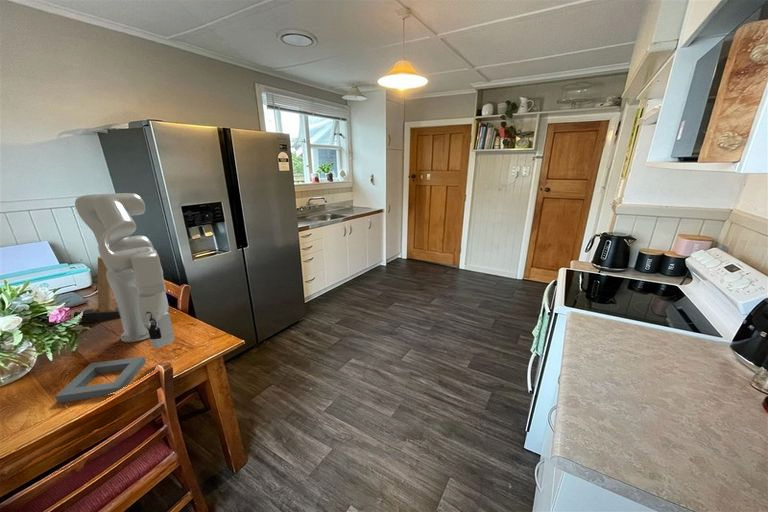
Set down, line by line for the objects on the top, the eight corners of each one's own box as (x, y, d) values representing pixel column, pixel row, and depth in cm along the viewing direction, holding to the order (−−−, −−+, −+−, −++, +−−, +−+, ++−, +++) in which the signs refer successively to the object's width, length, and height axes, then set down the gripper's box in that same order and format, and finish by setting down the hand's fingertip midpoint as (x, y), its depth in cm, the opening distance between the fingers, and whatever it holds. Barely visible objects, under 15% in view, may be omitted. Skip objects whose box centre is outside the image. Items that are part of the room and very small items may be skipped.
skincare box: (168, 337, 111) (162, 309, 108) (175, 341, 110) (170, 312, 106) (150, 346, 106) (143, 316, 102) (157, 349, 104) (151, 319, 100)
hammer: (134, 314, 145) (135, 256, 140) (132, 319, 141) (133, 259, 136) (76, 318, 133) (75, 254, 128) (73, 323, 129) (71, 257, 124)
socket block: (92, 369, 103) (90, 363, 102) (145, 362, 107) (144, 356, 107) (57, 403, 88) (55, 396, 88) (121, 393, 93) (119, 387, 92)
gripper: (150, 278, 108) (159, 321, 113) (124, 299, 92) (136, 347, 97) (173, 277, 110) (181, 319, 115) (152, 297, 94) (162, 345, 99)
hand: (160, 332), depth 106 cm, fingers closed on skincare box, 7 cm apart
